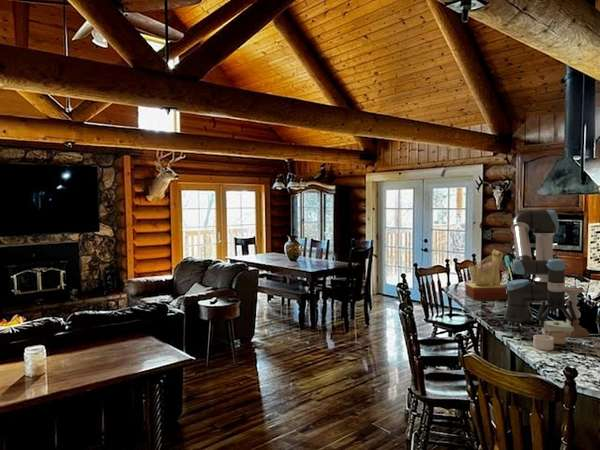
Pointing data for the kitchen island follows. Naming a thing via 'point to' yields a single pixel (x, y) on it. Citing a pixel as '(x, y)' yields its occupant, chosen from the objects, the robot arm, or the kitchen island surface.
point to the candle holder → (578, 329)
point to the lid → (558, 326)
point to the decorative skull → (490, 269)
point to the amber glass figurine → (486, 280)
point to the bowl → (543, 342)
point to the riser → (558, 336)
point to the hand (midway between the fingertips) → (556, 333)
